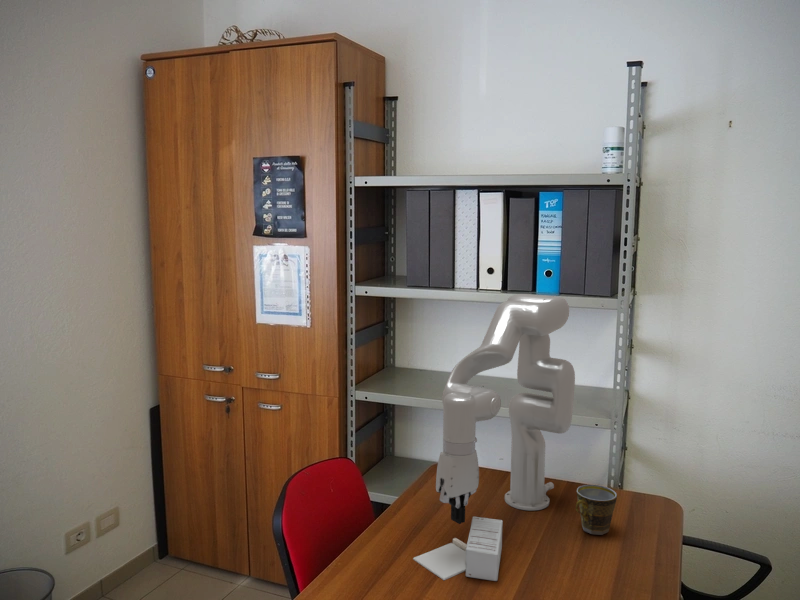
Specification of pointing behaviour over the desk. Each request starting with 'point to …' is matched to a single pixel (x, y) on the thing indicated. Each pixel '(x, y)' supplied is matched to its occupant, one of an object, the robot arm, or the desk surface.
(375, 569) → the desk surface
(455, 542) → the strip
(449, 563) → the mat
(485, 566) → the supplement box
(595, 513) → the ceramic cup
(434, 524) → the desk surface
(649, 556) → the desk surface
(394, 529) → the desk surface
